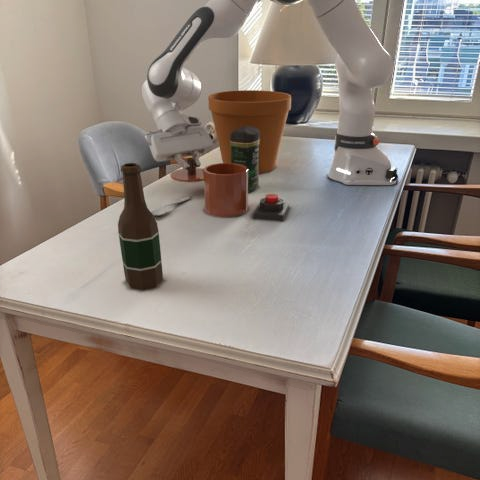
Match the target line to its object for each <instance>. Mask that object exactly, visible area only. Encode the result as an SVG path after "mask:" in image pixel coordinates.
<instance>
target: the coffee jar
mask: <svg viewBox="0 0 480 480" xmlns="http://www.w3.org/2000/svg"><path fill="white" fill-rule="evenodd" d="M259 142H260V131H259V130H258V129H257V127H252V126H244V127H242V128H239V129H236V130H234V131H232V132H231V135H230V144H231V163H235V164H241V165H244V166H246V167H247V168H248V193H250V192H252V191H254V190H256V189H257V188H258V187H259V186H260V185H259V184H260V182H259V180H260V177H259V174H260V173H258V151H259Z"/></svg>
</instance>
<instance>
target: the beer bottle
mask: <svg viewBox="0 0 480 480" xmlns="http://www.w3.org/2000/svg"><path fill="white" fill-rule="evenodd" d="M120 172H121V173H122V184H123V185H122V186H123V198H124V201H123V205H124V206H123V209H122V211H121V213H120V214H119V218H118V221H117V231H118V239H119V247H120V253H121V260H122V267H123V274H124V278H125V282H126V283H127V285H128V286H129V288H130V289H134V290H141V291H145V290H150V289H154V288H157V287H158V286H159V285H160V284H161V283H163V280H164V274H163V262H162V253H161V251H162V250H161V242H160V233H159V226H158V222H157V219H156V218H155V216H154V215H153V214H152V213H151V211H150V209H149V208H148V206H147V202H146V198H145V193H144V186H143V181H142V175H141V172H142V167H141V165H140V164H139V163H135V162H128V163H124V164H122V165H120Z"/></svg>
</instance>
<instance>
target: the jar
mask: <svg viewBox="0 0 480 480" xmlns="http://www.w3.org/2000/svg"><path fill="white" fill-rule="evenodd" d="M202 169H203V174H204V181H203V194H204V195H203V197H204V211H205V212H206V213H207V214H208V215H209V216H213V217H216V218H217V217H218V218H233V217H238V216H242V215H245V214H246V213H247V212H248V209H249V192H248V168H247V167H246V166H244V165H241V164H235V163H223V162H221V163H219V162H218V163H211V164H210V165H205V167H204V168H202Z"/></svg>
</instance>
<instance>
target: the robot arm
mask: <svg viewBox="0 0 480 480" xmlns="http://www.w3.org/2000/svg"><path fill="white" fill-rule="evenodd" d="M263 1H264V0H208V1H207V2H205V4H204V5H203V6H202V7H199V8H198V9H196V10H195V11H194V12H193V13H192V14H191V16H190V17H189V18H188V19H187V20H186V22H185V23H184V24H183V25H182V27H181V28H180V30H179V31H178V32H177V33H176V35H175V37H174V38H173V39H172V40H171V42H170V43H169V45H167V47H166V48H165V50H164V51H162V53H161V54H160V55H158V56H157V57H156V58H155V59H153V61H152V62H151V64H150V65H149V66H148V70H147V73H146V78H147V79H145V80H144V82H143V83H142V86H141V95H142V99H143V102H144V104H145V107H146V109H147V111H148V113H149V115H150V116H151V117H152V118H153V120H154V124H155V127H156V130H150V131H149V130H148V131H147V133H146V134H145V136H144V138H145V141H146V143H147V144H148V145H149V149H150V152H151V153H150V154H151V155H152V158H153V159H154V160H155V161H156V162H158V163H159V162H166V161H170V160H174V161H175V162H176V163H177V164H178V165H180V166H181V167H182V169H184V170H187V169H189V167H190V165H189V163H188V161H187V160H186V161H185V160H184V159H183V158H187V157H191V158H195V161H196V168H200V167H201V163H202V162H201V161H200V155H202V154H208V153H210V152H211V150H212V149H213V148H214V141H213V139H212V137H211V136H210V133H209V131H207V128H206V127H204V126H203V125H202V120H201V118H199V117H196V116H191V115H186V114H184V113H182V111H184V110H187V109H188V108H189V107H191V106H193V105H194V104H195V103H196V102H197V101H198V100H199V98H200V97H201V93H202V83H201V80H200V78H199V76H198V75H197V74H195V73H194V72H193V71H191V70H189V69H187V68H185V67H184V66H185V65H186V63H187V62H188V61H189V60H190V58H191V57H192V55H193V54H194V52H195V51H197V49H198V48H199V46H201V44H202V43H203V42H205V41H207V40H210V39H230V38H234V37H235V36H237V35H238V34H239V33H240V32H241V31H242V30H243V28H244V27H245V26H246V24H247V23H248V21H249V19H250V18H251V17H252V15H253V14H254V11H255V10H256V8H257V7H258V6H259V4H261V2H263ZM270 1H271V2H273V3H275V4H277V5H281V6H292V5H296V4H298V3H301V2H303V1H304V0H270ZM305 2H306V3H307V4H308V6H309V7H310V8H311V11H312V13H313V15H314V17H315V19H316V22H317V23H318V25H319V27H320V29H321V31H322V34H323V35H324V37H325V39H326V40H327V43H328V44H329V46H331V47H332V48H333V50H334V51H335V52H336V53H337V56H336V58H335V63H334V69H335V72H336V75H337V84H338V85H337V86H338V99H339V111H338V122H337V132H336V133H335V136H334V147H333V149H334V154H333V158H332V163H331V166H330V169H329V172H328V175H327V176H328V178H329V179H331V180H333V181H336V182H340V183H342V184H343V185H347V186H393V185H395V184H396V183H397V180H398V178H399V175H398V167H393V166H392V163H391V159H390V158H389V156H387V155H386V153H385V152H383V150H381V149H380V148H379V147H378V145H379V144H380V138H379V137H378V136H377V134H374V133H373V130H374V124H375V123H374V122H375V115H376V104H375V101H374V97H373V89H376V88H380V87H382V86H384V85H385V84H386V83H387V82H388V81H389V80H390V78H391V77H392V75H393V71H394V60H393V58H392V56H391V54H389V53H388V51H387V50H386V49H385V48H384V47H383V46H382V44H381V43H380V40H379V39H378V38H377V36H376V34H375V33H374V32H373V30H372V29H371V28H370V26H369V24H368V23H367V22H366V20H365V18H364V17H363V14H362V12H361V11H360V8H359V6H358V4H357V2H356V0H305Z"/></svg>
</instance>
